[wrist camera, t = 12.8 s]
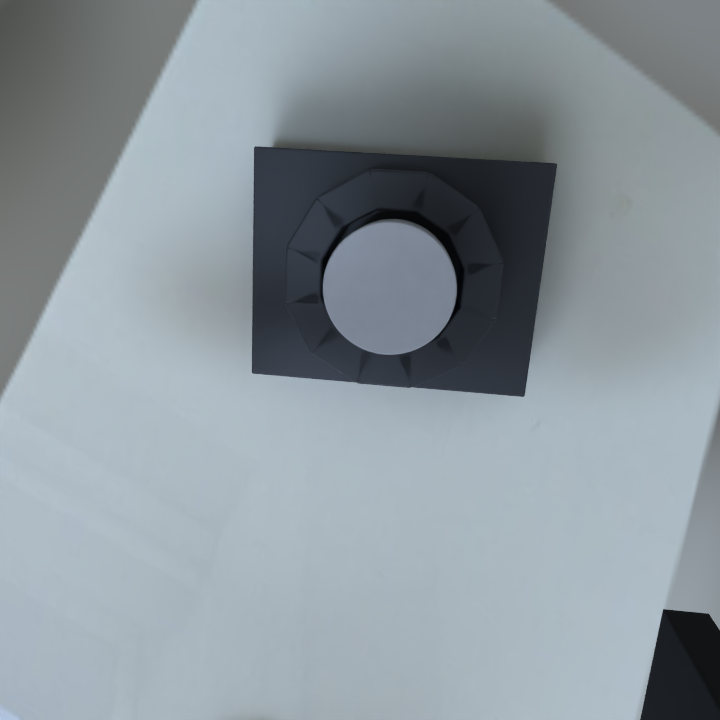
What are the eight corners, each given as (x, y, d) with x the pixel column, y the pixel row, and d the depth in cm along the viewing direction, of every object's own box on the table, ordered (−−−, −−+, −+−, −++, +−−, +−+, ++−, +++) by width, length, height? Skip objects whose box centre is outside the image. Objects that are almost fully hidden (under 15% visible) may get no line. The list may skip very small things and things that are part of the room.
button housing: (544, 166, 22) (570, 160, 18) (515, 379, 24) (533, 414, 20) (269, 150, 22) (238, 142, 19) (266, 358, 25) (237, 388, 21)
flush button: (460, 223, 19) (463, 225, 17) (447, 346, 20) (449, 360, 18) (333, 214, 19) (325, 216, 18) (328, 336, 20) (319, 349, 19)
